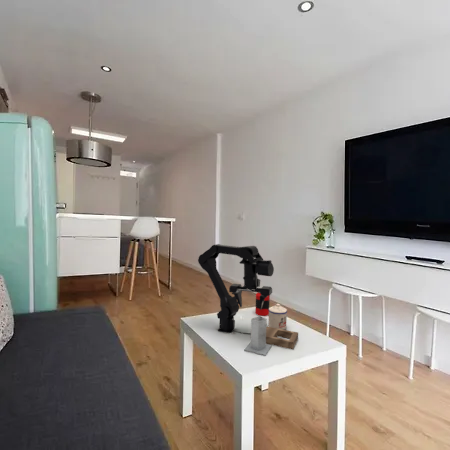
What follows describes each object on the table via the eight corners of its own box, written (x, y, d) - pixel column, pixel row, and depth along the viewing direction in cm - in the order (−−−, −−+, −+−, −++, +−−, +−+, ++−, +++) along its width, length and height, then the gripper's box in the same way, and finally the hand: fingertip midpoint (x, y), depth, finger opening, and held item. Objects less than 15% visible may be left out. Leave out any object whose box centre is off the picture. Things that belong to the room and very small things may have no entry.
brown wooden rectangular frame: (259, 342, 125) (259, 335, 125) (266, 332, 135) (267, 326, 135) (293, 349, 119) (293, 342, 119) (298, 339, 129) (298, 332, 128)
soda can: (252, 313, 160) (253, 292, 159) (260, 310, 165) (261, 289, 165) (263, 317, 155) (264, 295, 154) (271, 313, 160) (272, 292, 160)
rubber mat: (243, 350, 117) (244, 349, 117) (251, 341, 125) (251, 340, 125) (265, 356, 113) (265, 354, 113) (271, 346, 121) (271, 345, 121)
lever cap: (250, 347, 119) (251, 318, 118) (258, 343, 122) (259, 316, 121) (257, 351, 116) (258, 321, 115) (265, 347, 119) (266, 318, 118)
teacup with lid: (281, 332, 135) (282, 308, 134) (264, 327, 140) (265, 304, 140) (292, 325, 144) (293, 302, 144) (276, 320, 150) (276, 298, 149)
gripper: (275, 272, 133) (275, 305, 133) (237, 269, 140) (237, 301, 141) (268, 276, 123) (269, 313, 123) (228, 273, 130) (229, 308, 130)
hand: (250, 308), depth 130 cm, fingers open, 9 cm apart
